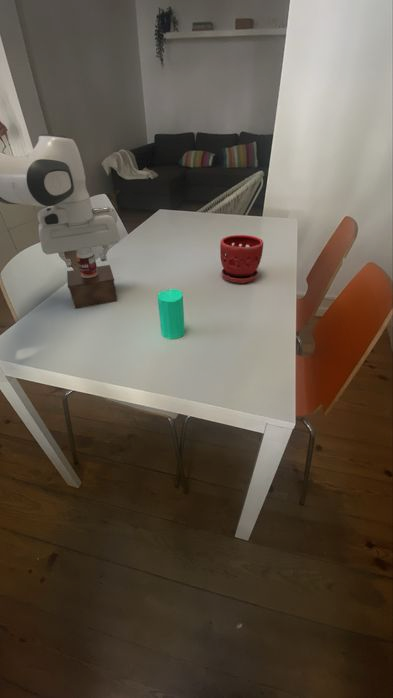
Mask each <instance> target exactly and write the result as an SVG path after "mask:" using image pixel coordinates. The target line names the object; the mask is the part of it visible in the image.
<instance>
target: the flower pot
mask: <svg viewBox="0 0 393 698" xmlns="http://www.w3.org/2000/svg"><path fill="white" fill-rule="evenodd" d="M219 244H220V247H219V248H220V263H221V266H222V270H221V276H222V277H223V278H224V279H225V280H227V281H228V282H231V283H237V284H238V283H239V284H243V283H248V282H252V281H253V280H255V279H256V278H257V277H258V273H259V271H258V268H259V266H260V263H261V260H262V257H263V250H264V241H263V240H262V239H261V238H260V237H257V236H253V235H249V234H248V235H247V234H246V235H245V234H236V235H235V234H234V235H228V236H225V237H223V238H221V239H220V243H219Z"/></svg>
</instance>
